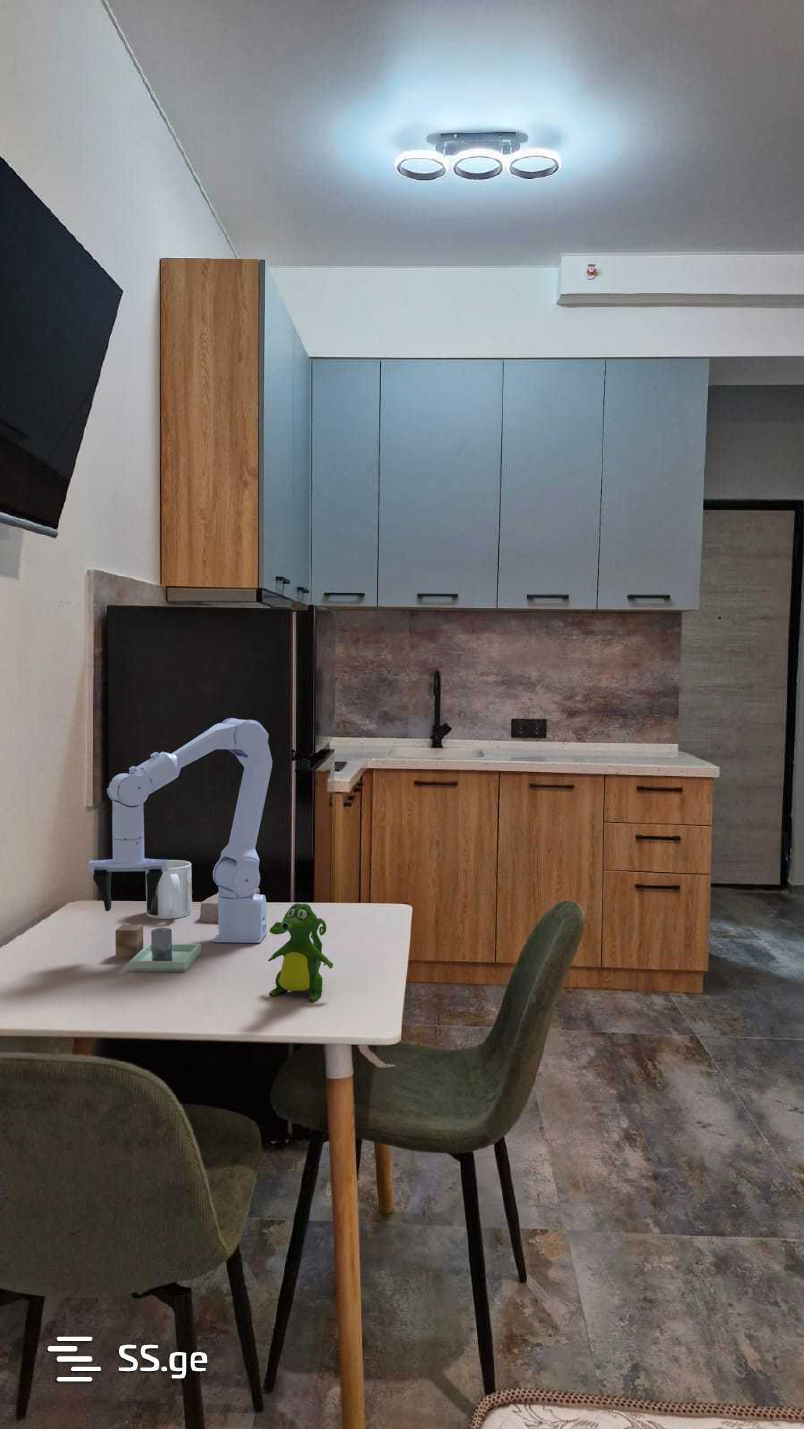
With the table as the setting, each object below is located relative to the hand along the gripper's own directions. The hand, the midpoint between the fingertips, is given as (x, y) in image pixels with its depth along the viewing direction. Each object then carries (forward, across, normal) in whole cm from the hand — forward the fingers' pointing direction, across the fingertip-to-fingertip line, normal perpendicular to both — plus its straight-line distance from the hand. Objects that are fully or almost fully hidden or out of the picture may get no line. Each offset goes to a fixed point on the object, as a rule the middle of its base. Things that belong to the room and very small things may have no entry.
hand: (129, 909), depth 189 cm
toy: (+9, -33, +24) cm, 41 cm away
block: (+9, 0, 0) cm, 9 cm away
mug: (+9, -3, -31) cm, 33 cm away
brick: (+9, -16, -32) cm, 37 cm away
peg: (+8, -7, +7) cm, 13 cm away
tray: (+9, -8, +4) cm, 12 cm away
